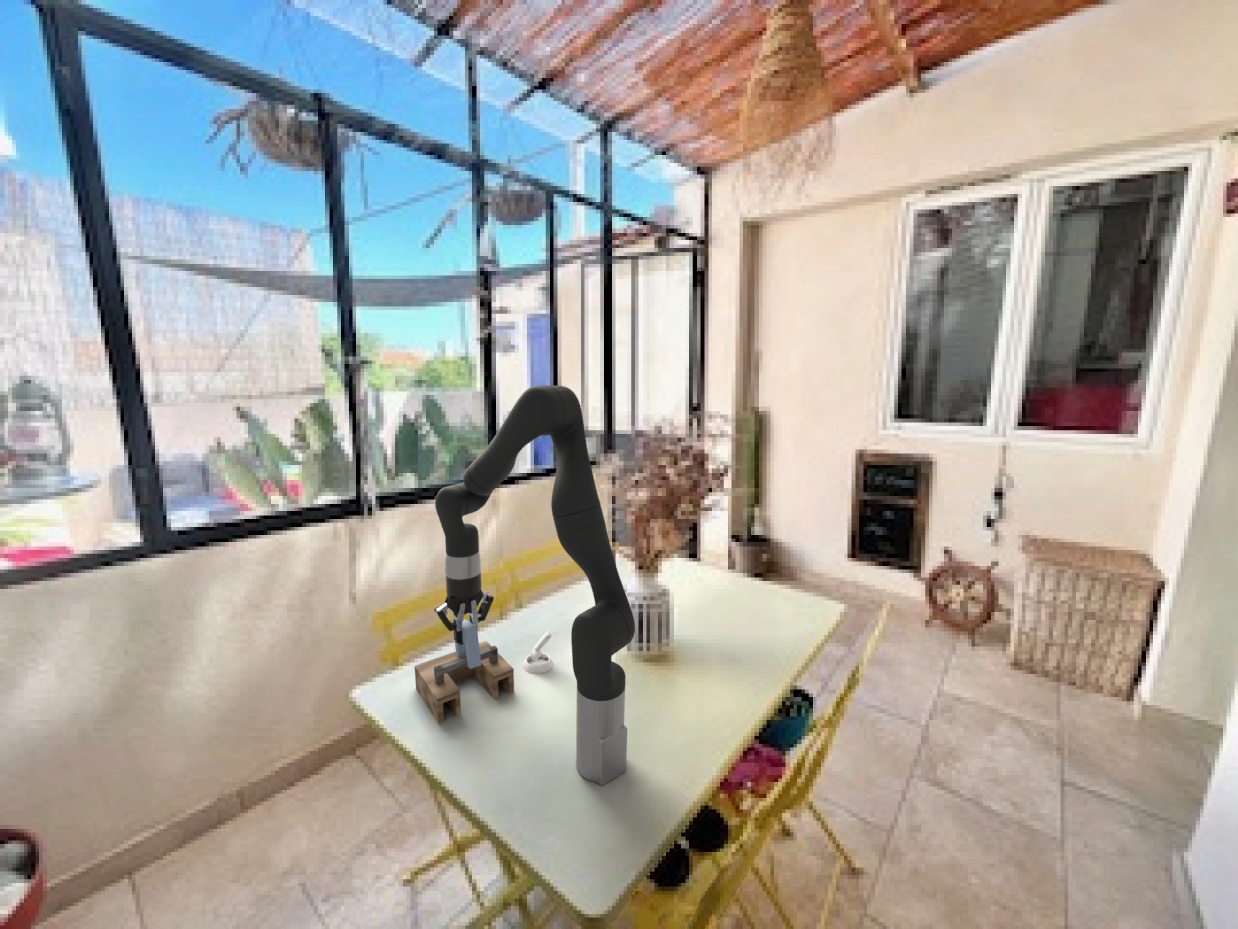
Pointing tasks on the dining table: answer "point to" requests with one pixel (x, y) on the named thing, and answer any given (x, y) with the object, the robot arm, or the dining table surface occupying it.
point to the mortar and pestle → (537, 654)
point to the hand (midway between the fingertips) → (466, 641)
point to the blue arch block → (469, 645)
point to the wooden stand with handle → (460, 678)
